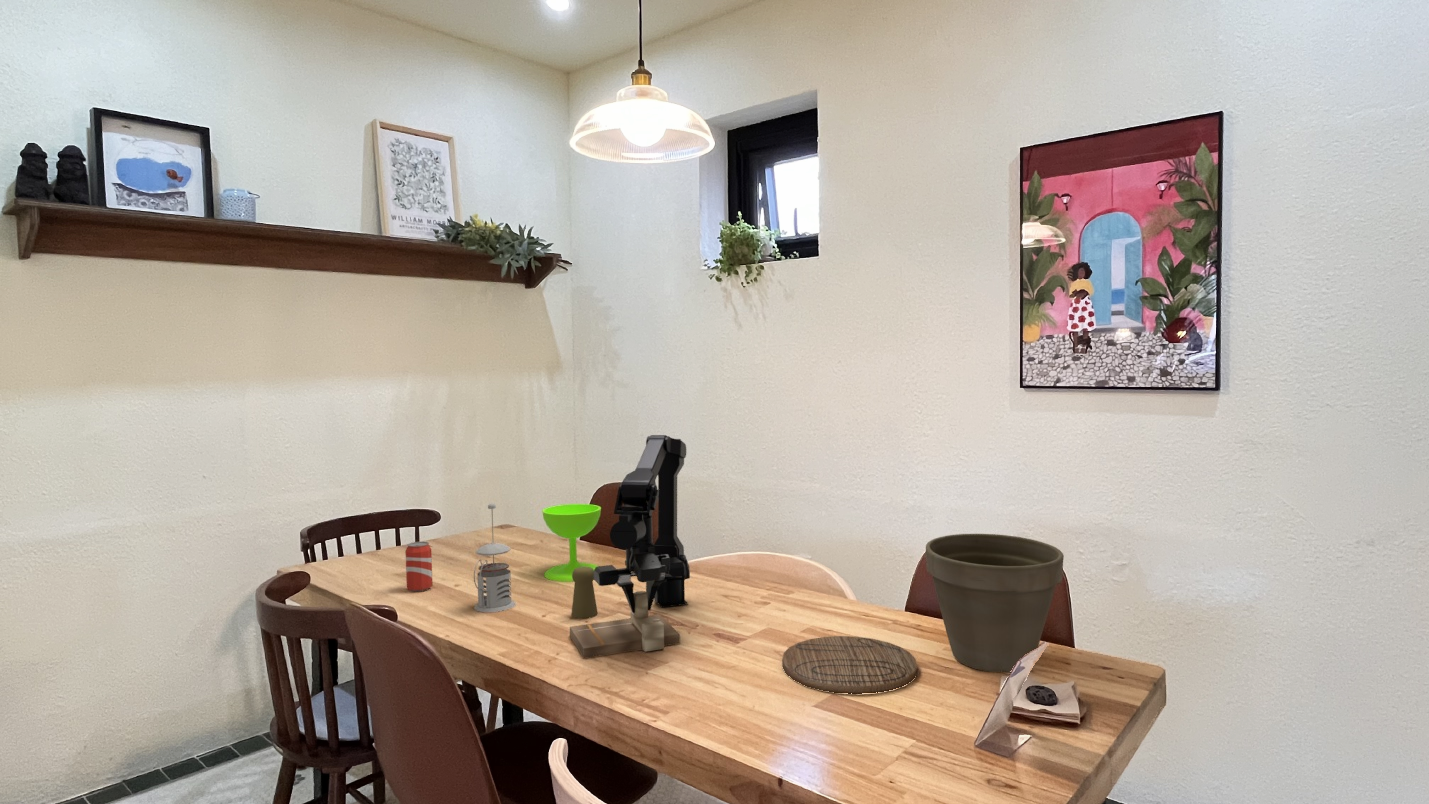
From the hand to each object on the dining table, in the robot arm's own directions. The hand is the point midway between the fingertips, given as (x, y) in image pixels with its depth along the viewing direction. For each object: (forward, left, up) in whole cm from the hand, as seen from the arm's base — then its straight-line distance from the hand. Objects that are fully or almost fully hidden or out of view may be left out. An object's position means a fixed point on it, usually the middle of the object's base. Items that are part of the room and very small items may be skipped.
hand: (640, 611), depth 166 cm
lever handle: (0, +3, -5) cm, 6 cm away
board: (+4, 0, -6) cm, 7 cm away
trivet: (-31, +32, -6) cm, 45 cm away
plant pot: (-58, +40, -6) cm, 71 cm away
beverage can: (+43, -59, -6) cm, 73 cm away
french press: (+27, -35, -6) cm, 44 cm away
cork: (+8, -20, -6) cm, 22 cm away
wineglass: (+3, -57, -6) cm, 57 cm away
